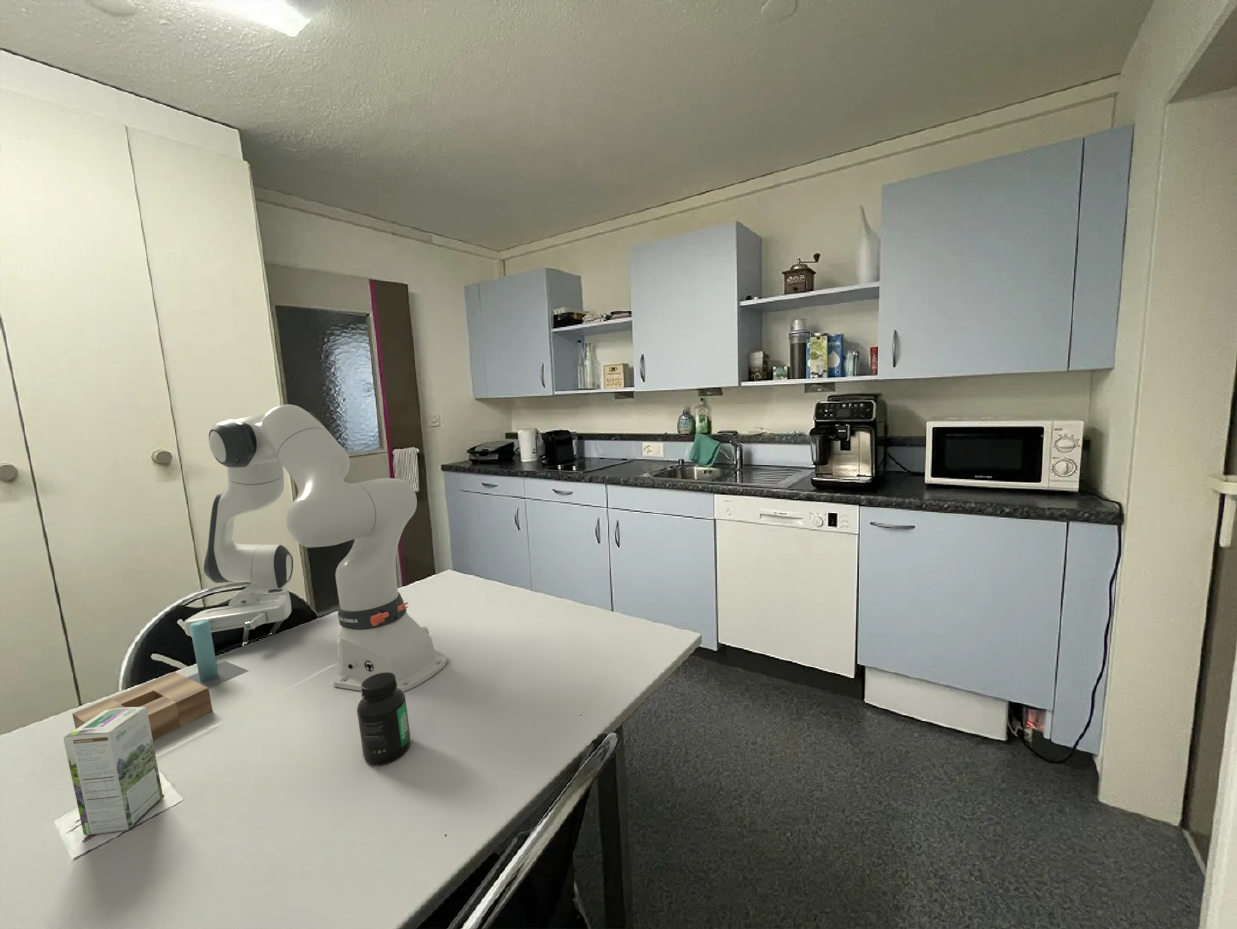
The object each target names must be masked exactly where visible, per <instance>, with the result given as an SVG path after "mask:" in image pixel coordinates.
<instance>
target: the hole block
mask: <svg viewBox="0 0 1237 929" xmlns="http://www.w3.org/2000/svg"><path fill="white" fill-rule="evenodd" d="M187 677H188V676H185V675H182V674H180V673H178V672H176V671H173V672H170V673H168V674H165V675H163V676H161V677H158V678H155V679H153V680H151V681H148V682H146V683H143V684H141V685H139V686H138V685H137V686H136V687H133V688H131V689H129V690H125V691H123V692H122V693H119V694H116V695H114V696H112V697H109V698H107V699H103V700H101V701H99V702H96V703H95V704H92V705H89V706H87V707H83V708H82V709H80V710H78V711H75V712H72V718H73V724H74V727H75V730H76V729H77V728H79V727H80V726H82V725H83V724H85V723H86V722H88V721H89V720H91V719H92V718H94V717H95V716H97V715H99V714H100V713H101V712H103V711H105V710H110V709H115V708H124V707H145V708H147V711H148V717H149V722H150V728H151V733H152V738H153V741H155V740H157V739H159V738H161V737H163V736H165V735H167V734H169V733H171V732H173V731H176V730H177V729H180V728H182V727H183V726H186V725H188V724H189V723H192V722H194V721H195V720H197V719H199V718H201V717H204V716H206V715H208V714H210V713H213V710H214V709H213V706H212V705H213V704H212V701H211V695H210V690H209V689H208V687H205V686H203V685H201V684H199V683H197V682H195V681H193V680H191V679H189V678H187Z"/></svg>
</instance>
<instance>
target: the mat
mask: <svg viewBox="0 0 1237 929" xmlns="http://www.w3.org/2000/svg"><path fill="white" fill-rule="evenodd" d="M216 664H217V669H218V676H217V677H216V678H214V679H212V680H209V681H205V682H201V681H200V678H199V673H198V672H196V673H193V674H192V675H189V676H186V677H187V678H189V679H191V680H193V681H195V682H197V683H199V684H201V685H203V686H205V687H208V689H212V688H215V687H216V686H218V685H221V684H222V683H225V682H227V681H229V680H231V679H234V678H236V677H238V676H240V675H243V674H244V673H247V672H248V671H250V670H248V669H246V668H244V667H241V666H238V665H236V664H233V663H231V662H229V661H226V660H224V661H222V662H220V663H216Z"/></svg>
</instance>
